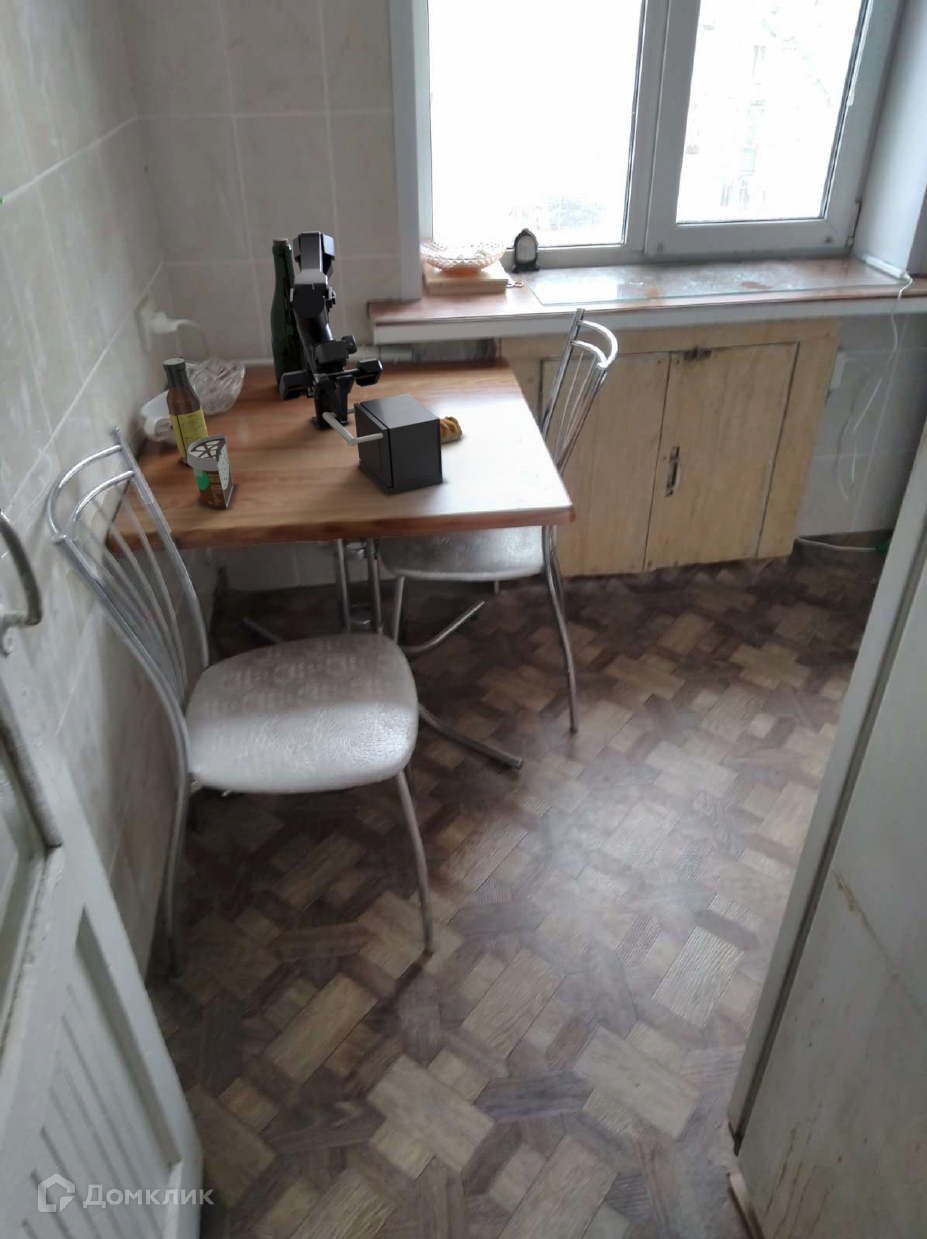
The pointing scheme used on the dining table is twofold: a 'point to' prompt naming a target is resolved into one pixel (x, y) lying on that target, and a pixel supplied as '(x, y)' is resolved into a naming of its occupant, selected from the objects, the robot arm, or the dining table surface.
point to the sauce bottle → (183, 407)
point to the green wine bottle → (284, 315)
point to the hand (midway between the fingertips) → (345, 420)
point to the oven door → (367, 441)
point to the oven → (408, 442)
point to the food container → (212, 470)
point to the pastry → (449, 429)
